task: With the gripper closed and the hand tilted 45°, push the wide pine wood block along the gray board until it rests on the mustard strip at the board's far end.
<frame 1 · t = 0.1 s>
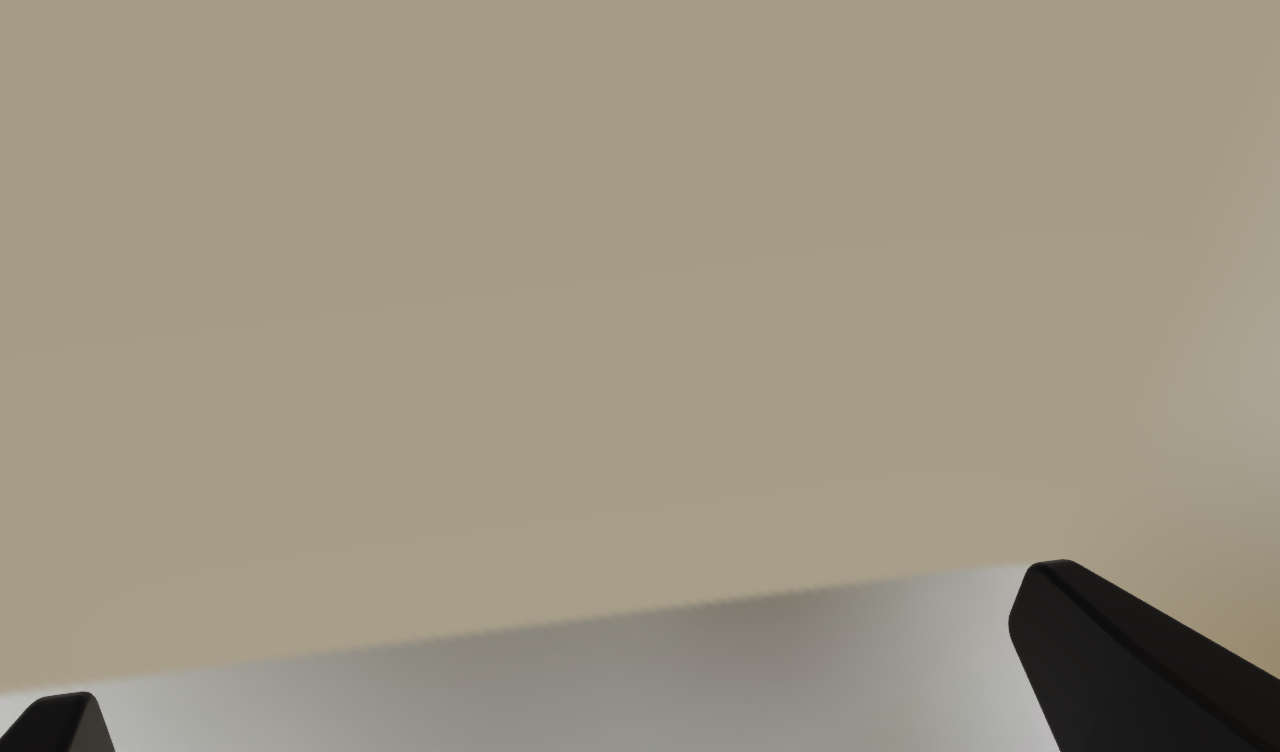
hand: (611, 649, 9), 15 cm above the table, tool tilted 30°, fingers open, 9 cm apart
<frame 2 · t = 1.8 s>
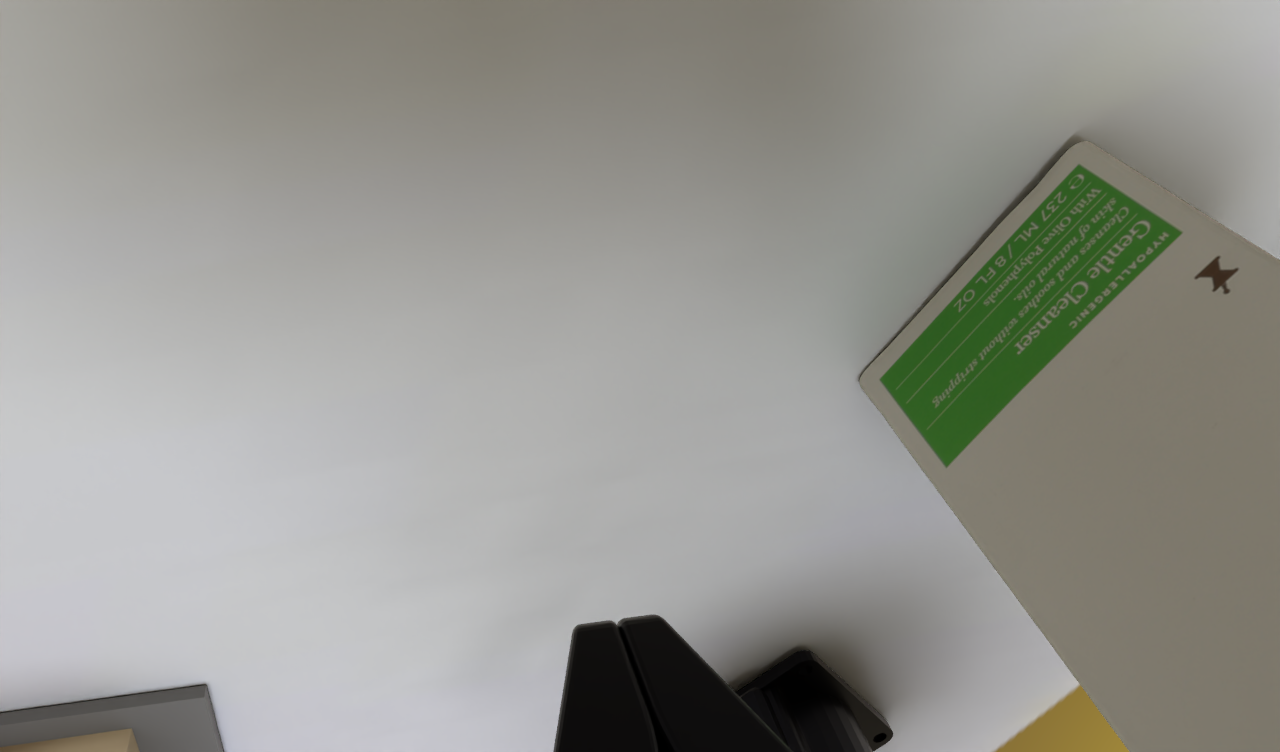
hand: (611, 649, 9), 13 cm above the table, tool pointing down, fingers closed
skincare box: (1024, 319, 26), on the table
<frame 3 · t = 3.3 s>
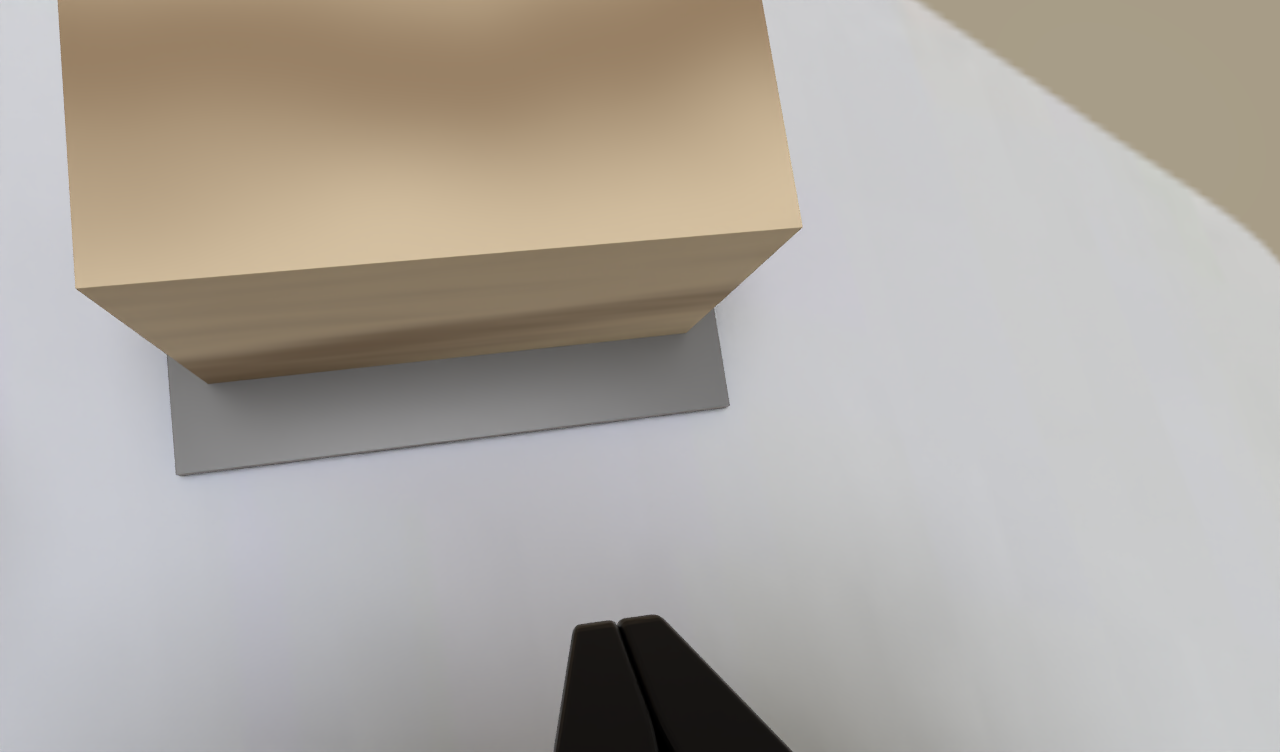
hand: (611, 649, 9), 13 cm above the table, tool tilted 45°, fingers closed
gray board: (440, 204, 24), on the table
pine block: (444, 234, 23), resting on gray board
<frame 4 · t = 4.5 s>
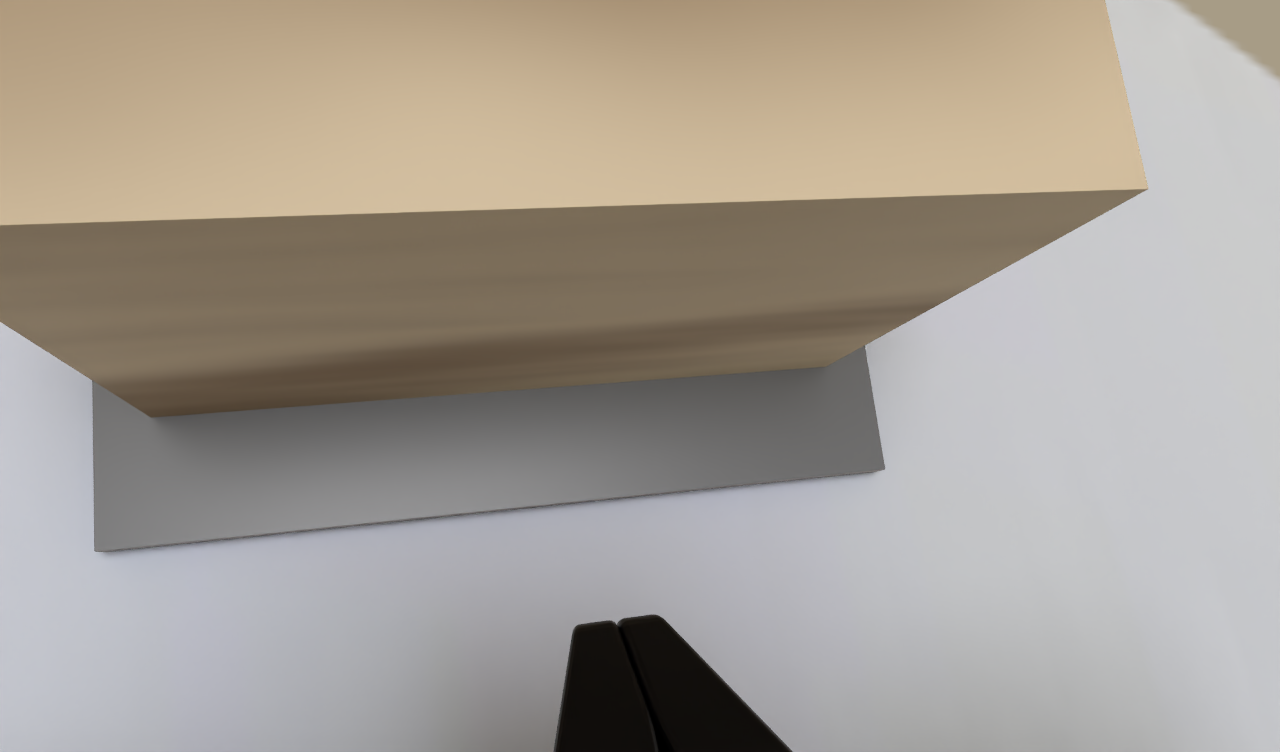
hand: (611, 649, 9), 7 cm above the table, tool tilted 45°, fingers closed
gray board: (493, 177, 17), on the table
pine block: (499, 217, 16), resting on gray board
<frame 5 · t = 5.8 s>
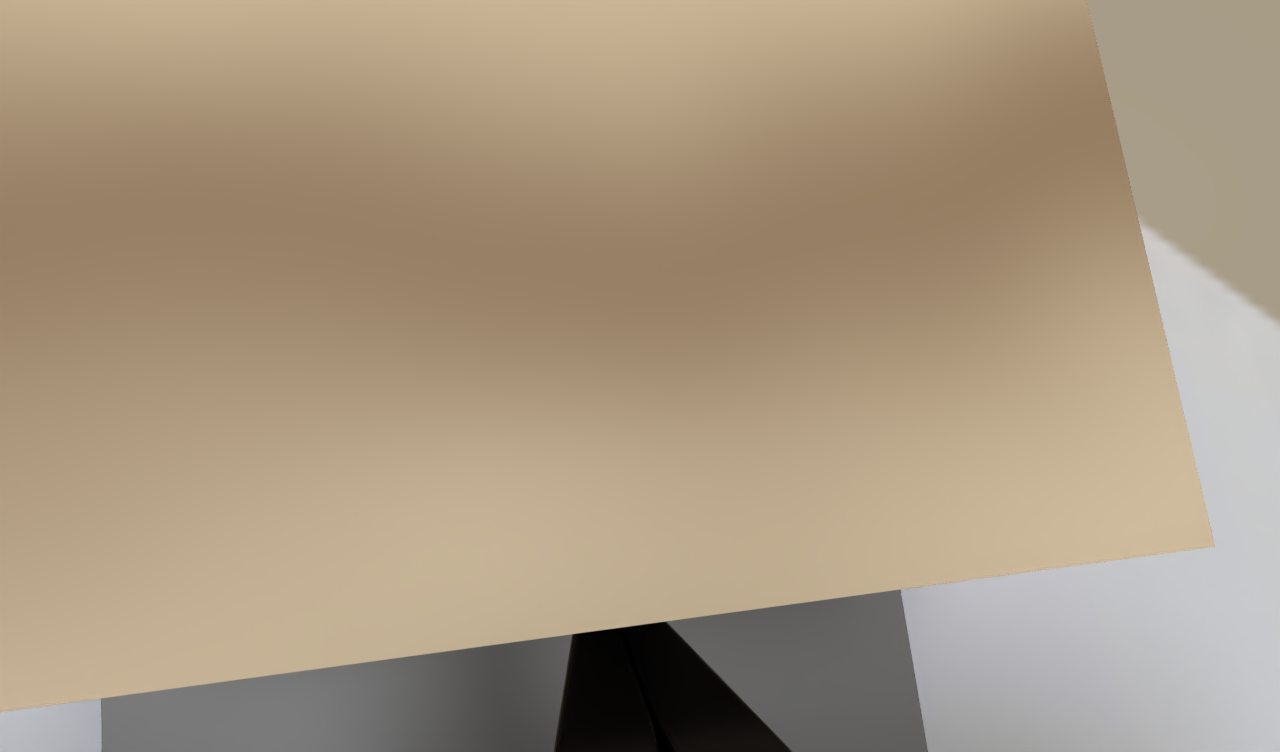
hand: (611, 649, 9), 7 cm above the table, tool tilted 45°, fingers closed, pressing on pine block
gray board: (528, 558, 16), on the table
pine block: (518, 426, 16), resting on gray board, touching gripper
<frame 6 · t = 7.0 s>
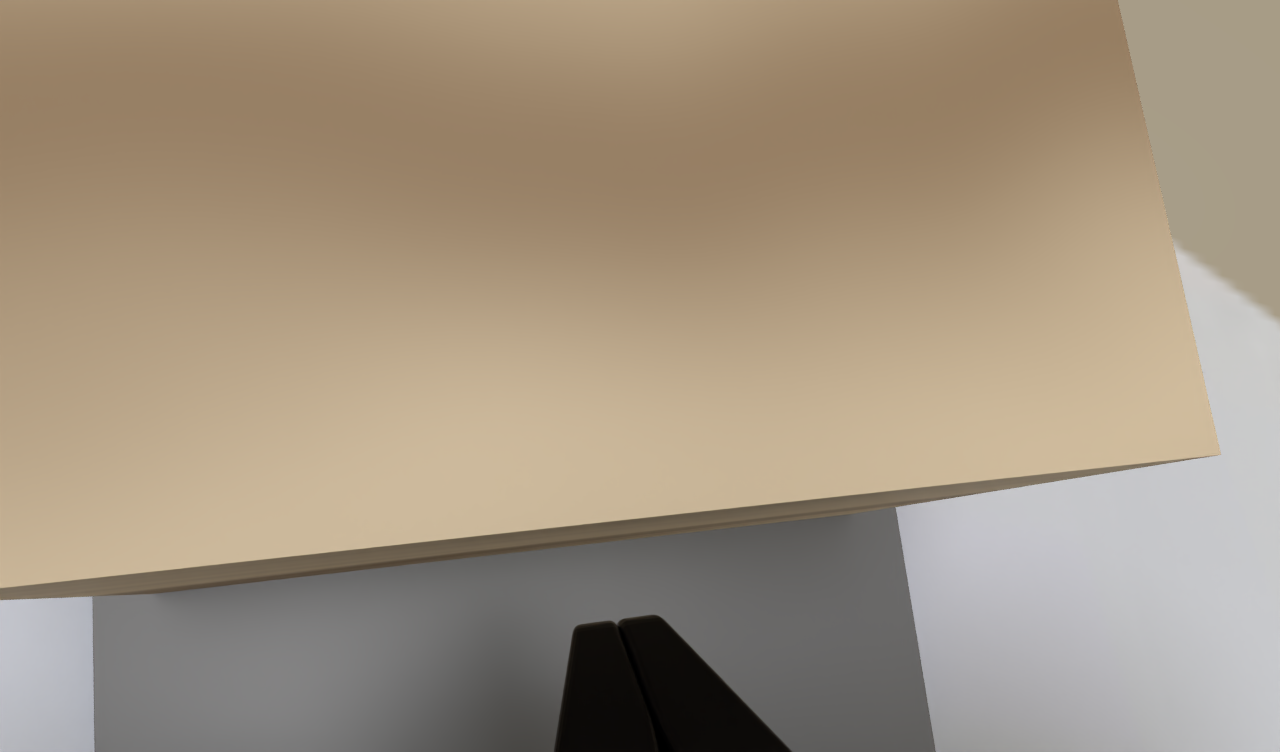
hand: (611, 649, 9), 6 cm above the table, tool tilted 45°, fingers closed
gray board: (533, 582, 16), on the table
pine block: (514, 365, 16), resting on gray board
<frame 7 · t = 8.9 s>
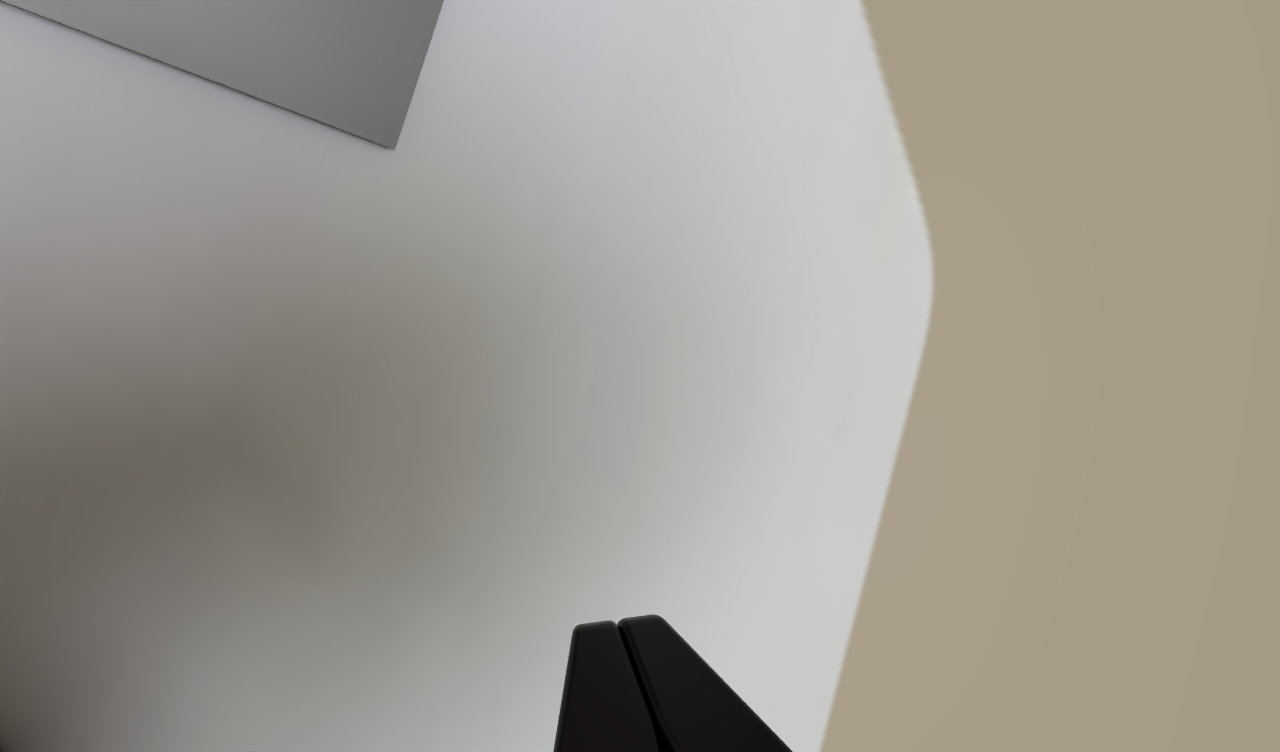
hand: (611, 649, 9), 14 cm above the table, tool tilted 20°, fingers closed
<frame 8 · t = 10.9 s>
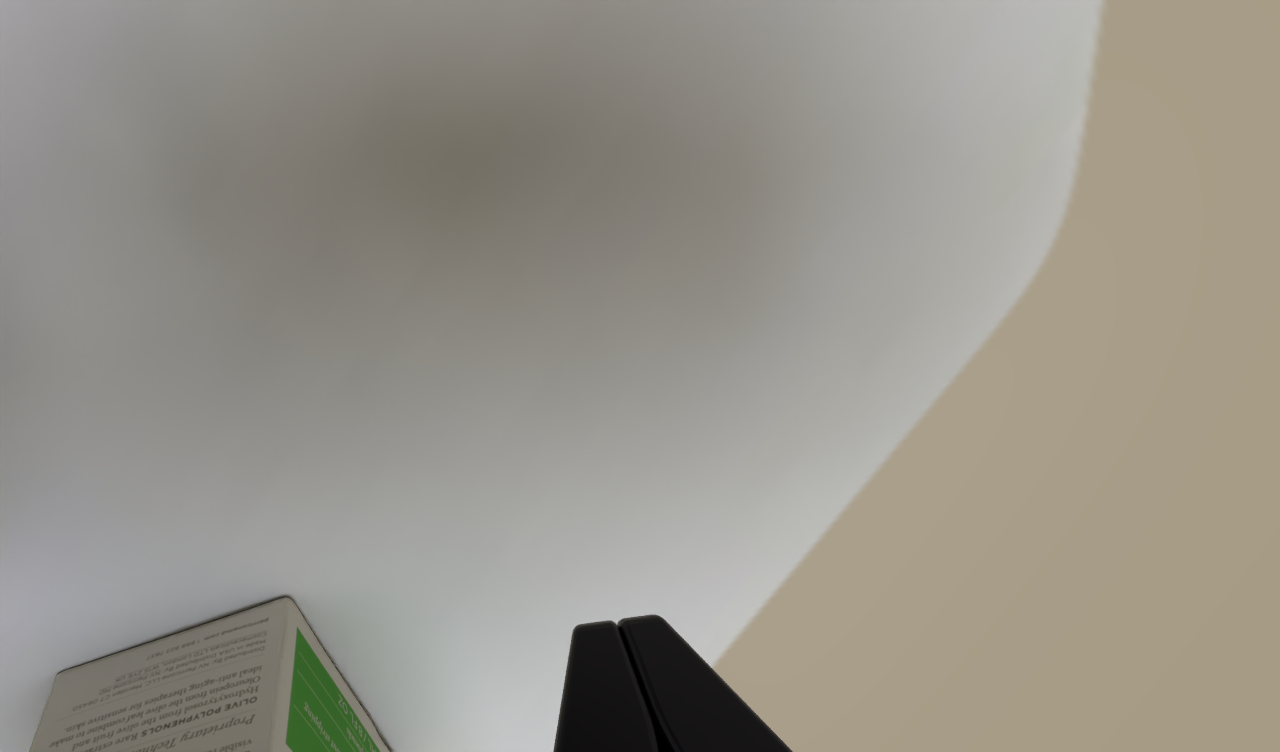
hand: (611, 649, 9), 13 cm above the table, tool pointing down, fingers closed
skincare box: (234, 714, 27), on the table
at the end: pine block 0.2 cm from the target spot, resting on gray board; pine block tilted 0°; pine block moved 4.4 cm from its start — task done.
